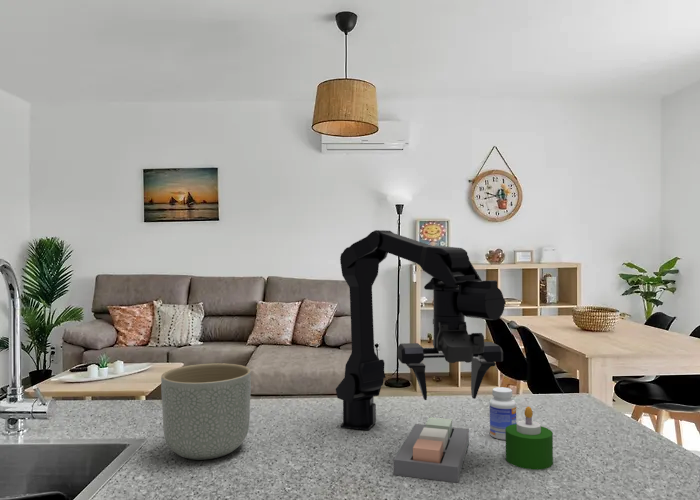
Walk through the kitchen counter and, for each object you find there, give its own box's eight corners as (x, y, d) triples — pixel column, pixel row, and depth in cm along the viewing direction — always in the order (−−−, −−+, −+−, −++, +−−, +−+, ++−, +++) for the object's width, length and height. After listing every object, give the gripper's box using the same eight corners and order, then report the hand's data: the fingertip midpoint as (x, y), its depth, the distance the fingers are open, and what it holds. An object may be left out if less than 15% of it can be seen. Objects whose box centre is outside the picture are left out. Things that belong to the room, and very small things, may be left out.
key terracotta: (412, 461, 93) (412, 447, 93) (417, 451, 98) (417, 438, 98) (439, 464, 92) (439, 450, 92) (443, 454, 96) (443, 441, 96)
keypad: (393, 474, 93) (393, 459, 93) (415, 436, 112) (415, 423, 112) (457, 482, 90) (457, 467, 90) (468, 441, 109) (468, 428, 109)
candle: (529, 473, 93) (529, 416, 93) (496, 457, 101) (495, 404, 101) (562, 464, 97) (562, 409, 97) (528, 449, 105) (528, 398, 105)
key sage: (425, 436, 106) (425, 424, 106) (429, 428, 110) (429, 417, 110) (449, 438, 104) (449, 426, 104) (452, 431, 108) (452, 419, 108)
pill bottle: (517, 441, 109) (517, 393, 109) (490, 439, 110) (490, 392, 110) (515, 432, 114) (514, 386, 114) (488, 430, 115) (488, 385, 115)
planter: (266, 440, 110) (265, 366, 110) (220, 473, 94) (220, 386, 94) (196, 431, 116) (196, 361, 116) (142, 461, 100) (141, 379, 100)
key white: (419, 448, 99) (419, 435, 99) (424, 439, 104) (423, 427, 104) (444, 450, 98) (444, 437, 98) (447, 442, 102) (447, 429, 102)
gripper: (407, 321, 91) (407, 413, 91) (514, 319, 92) (514, 410, 92) (396, 313, 102) (397, 395, 102) (492, 312, 103) (492, 393, 103)
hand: (449, 398), depth 100 cm, fingers open, 9 cm apart
